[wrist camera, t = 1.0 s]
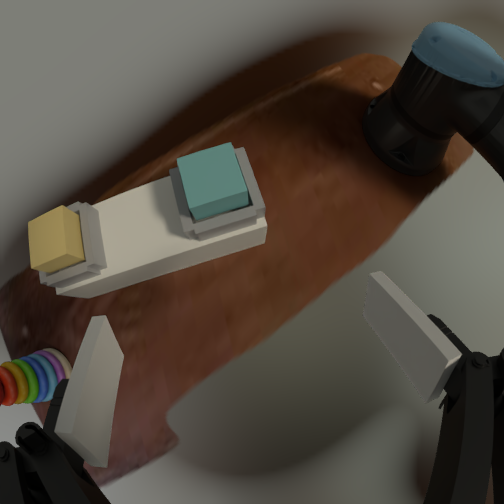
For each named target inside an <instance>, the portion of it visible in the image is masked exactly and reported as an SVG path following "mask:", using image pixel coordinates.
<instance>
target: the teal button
mask: <svg viewBox="0 0 504 504" xmlns="http://www.w3.org/2000/svg"><path fill="white" fill-rule="evenodd" d="M177 162H178V166H179V170H180V175H181V179H182V183H183V187H184V190H185V194H186V198H187V202H188V206H189V209H190V211H191V212H192V214H193V216H194V217H195V219H196V220H201V219H204V218H207V217H210V216H213V215H216V214H220V213H223V212H226V211H229V210H232V209H236V208H239V207H242V206H246V205H248V190H247V187H246V184H245V181H244V178H243V176H242V173H241V170H240V167H239V164H238V161H237V158H236V155H235V153H234V150H233V147H232V144H231V142H230V143H226V144H223V145H219V146H216V147H212V148H209V149H206V150H202V151H199V152H196V153H193V154H190V155H187V156H184V157H181V158H178V159H177Z"/></svg>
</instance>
